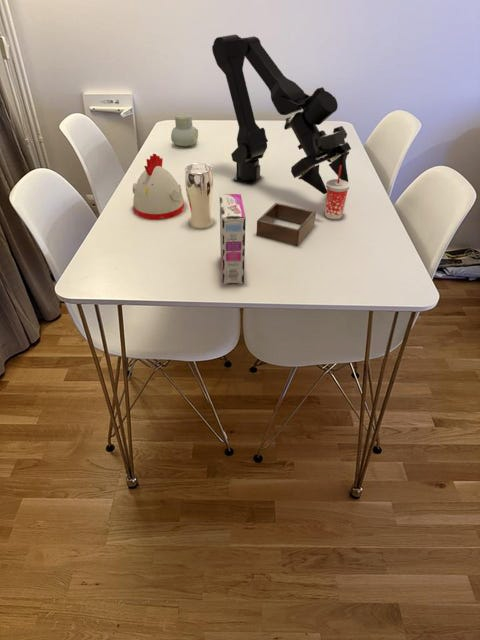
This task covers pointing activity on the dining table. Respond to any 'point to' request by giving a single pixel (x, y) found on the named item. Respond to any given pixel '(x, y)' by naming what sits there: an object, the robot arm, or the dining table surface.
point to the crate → (282, 232)
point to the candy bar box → (232, 238)
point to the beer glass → (199, 194)
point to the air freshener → (184, 130)
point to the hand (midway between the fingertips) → (336, 188)
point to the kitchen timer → (157, 192)
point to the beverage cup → (336, 197)
